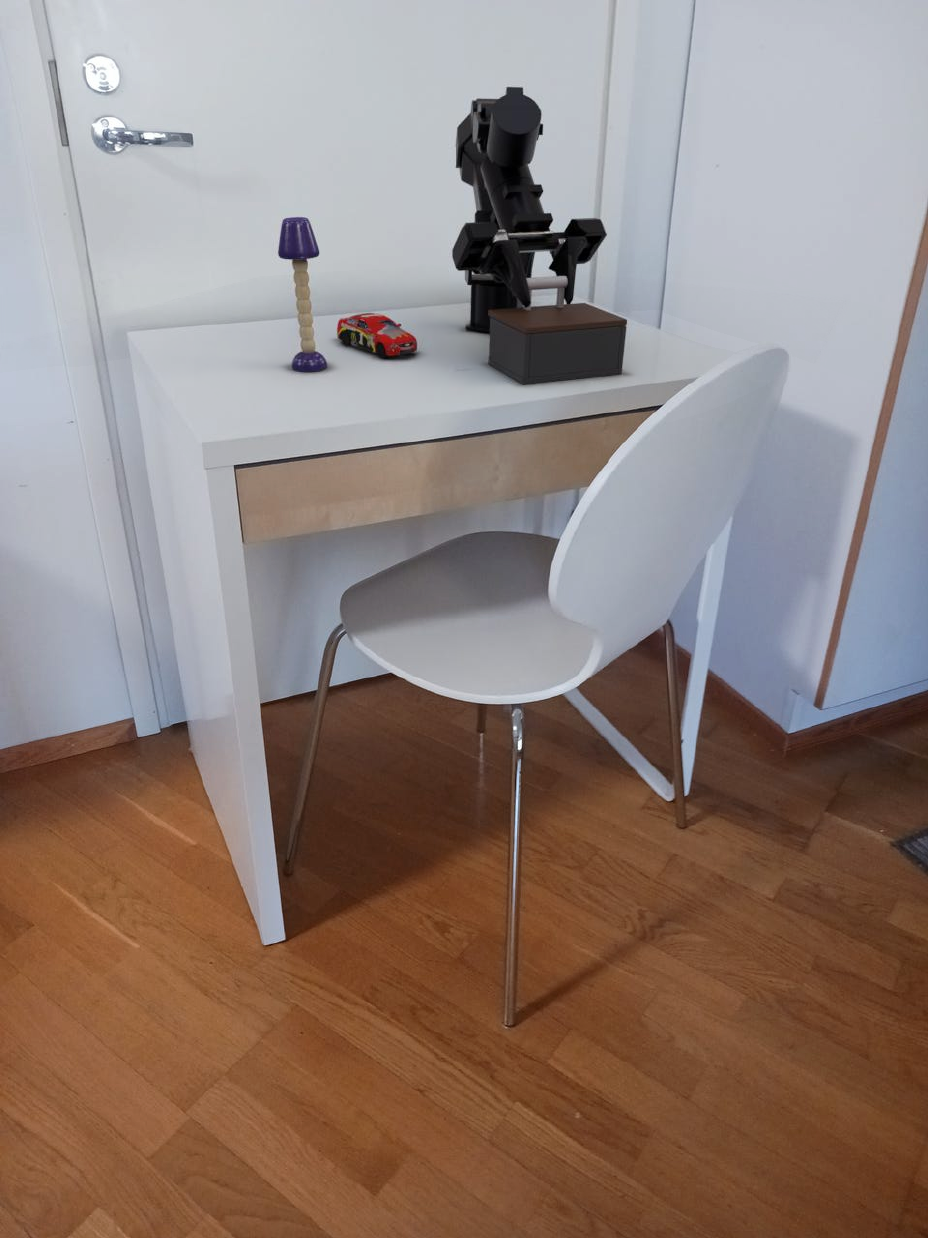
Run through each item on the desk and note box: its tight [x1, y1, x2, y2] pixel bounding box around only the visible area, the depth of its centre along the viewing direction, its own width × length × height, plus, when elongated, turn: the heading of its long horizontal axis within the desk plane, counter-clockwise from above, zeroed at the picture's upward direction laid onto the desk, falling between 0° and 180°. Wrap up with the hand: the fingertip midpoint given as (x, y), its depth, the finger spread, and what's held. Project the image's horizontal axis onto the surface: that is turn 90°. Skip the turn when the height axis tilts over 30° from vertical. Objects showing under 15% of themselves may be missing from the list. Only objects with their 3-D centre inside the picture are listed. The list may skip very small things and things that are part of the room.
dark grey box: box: [488, 317, 627, 385], centre depth 115 cm, size 9×13×6 cm
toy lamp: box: [277, 216, 328, 373], centre depth 110 cm, size 5×5×17 cm
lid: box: [488, 275, 628, 334], centre depth 112 cm, size 10×13×4 cm
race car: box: [336, 312, 418, 359], centre depth 122 cm, size 13×5×4 cm, turn 39°
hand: (549, 303), depth 114 cm, fingers closed on lid, 5 cm apart
